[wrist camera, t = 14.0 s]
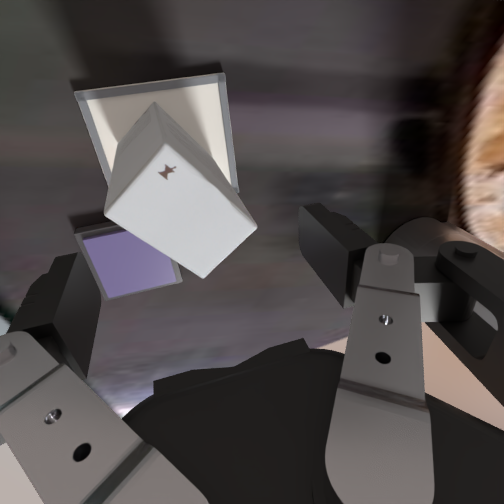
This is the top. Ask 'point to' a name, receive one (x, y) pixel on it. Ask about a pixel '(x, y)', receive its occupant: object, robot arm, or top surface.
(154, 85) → the framed whiteboard
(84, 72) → the top surface
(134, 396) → the top surface
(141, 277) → the ink pad
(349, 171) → the top surface
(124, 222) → the skincare box
